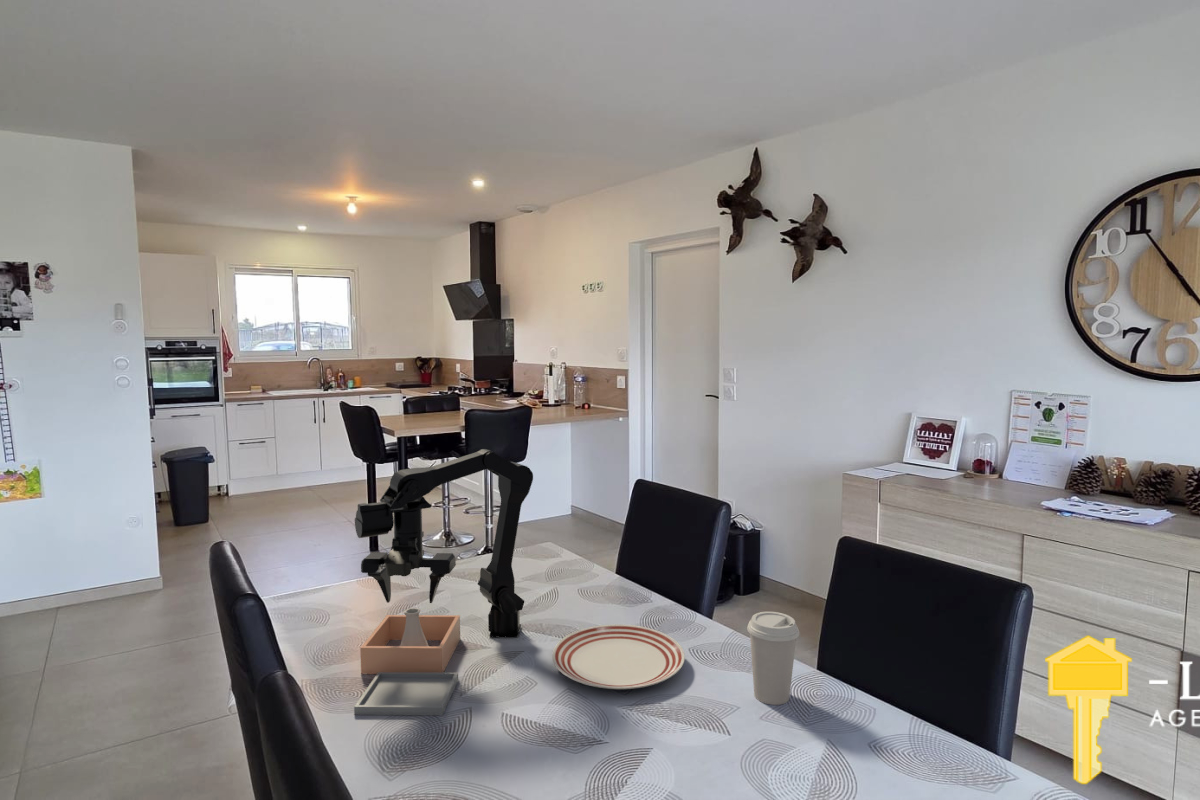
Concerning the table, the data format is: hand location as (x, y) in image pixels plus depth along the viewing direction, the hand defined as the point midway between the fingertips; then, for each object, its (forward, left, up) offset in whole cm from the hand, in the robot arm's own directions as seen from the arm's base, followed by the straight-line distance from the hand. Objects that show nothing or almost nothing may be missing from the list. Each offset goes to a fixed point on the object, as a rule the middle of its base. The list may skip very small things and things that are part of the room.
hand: (409, 602), depth 146 cm
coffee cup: (-73, +16, -12) cm, 76 cm away
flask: (0, 0, -12) cm, 12 cm away
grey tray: (-4, +17, -12) cm, 21 cm away
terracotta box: (0, 0, -12) cm, 12 cm away
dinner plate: (-44, +4, -12) cm, 46 cm away
